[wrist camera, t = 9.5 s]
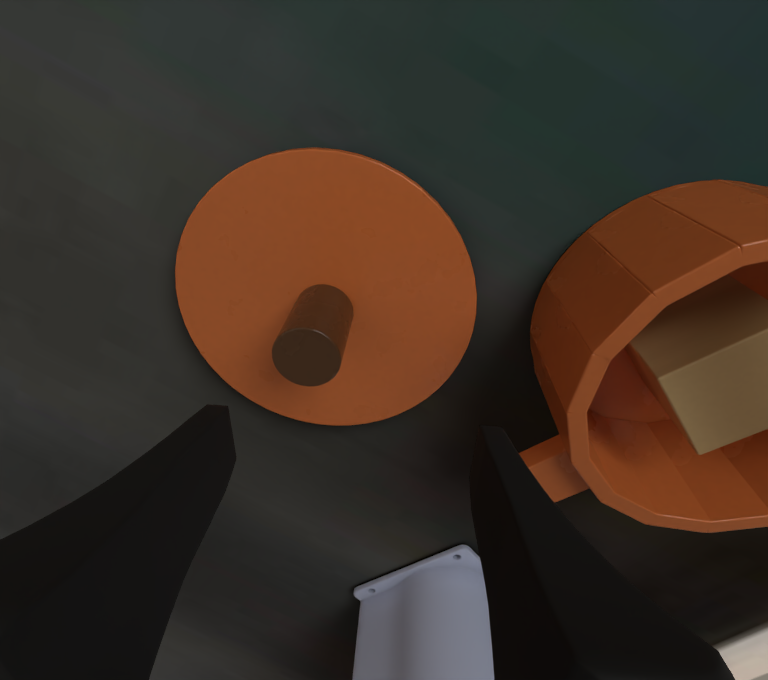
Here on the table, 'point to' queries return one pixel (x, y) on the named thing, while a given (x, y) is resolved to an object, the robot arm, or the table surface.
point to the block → (709, 363)
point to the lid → (326, 286)
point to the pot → (619, 375)
